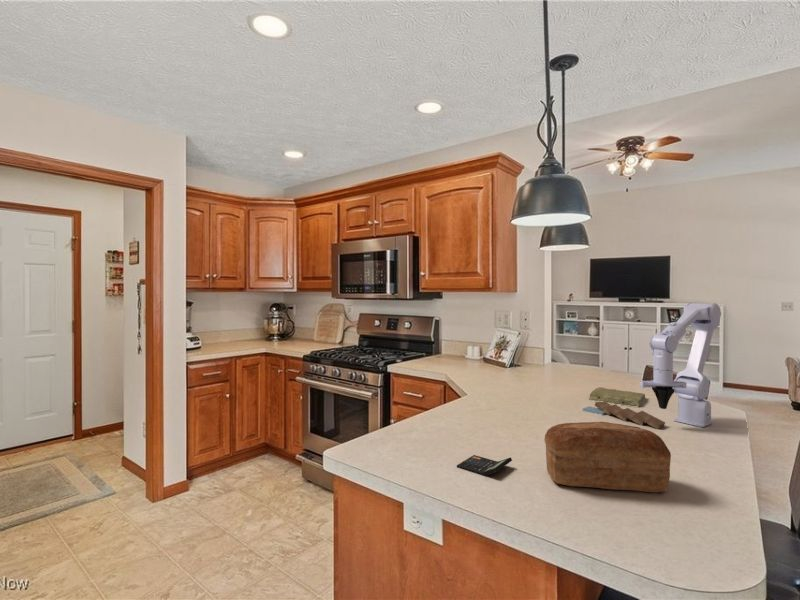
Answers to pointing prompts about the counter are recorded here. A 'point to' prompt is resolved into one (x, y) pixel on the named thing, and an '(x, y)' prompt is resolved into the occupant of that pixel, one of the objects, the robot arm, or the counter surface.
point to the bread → (607, 457)
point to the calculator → (482, 465)
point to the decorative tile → (617, 396)
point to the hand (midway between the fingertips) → (662, 408)
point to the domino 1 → (594, 410)
